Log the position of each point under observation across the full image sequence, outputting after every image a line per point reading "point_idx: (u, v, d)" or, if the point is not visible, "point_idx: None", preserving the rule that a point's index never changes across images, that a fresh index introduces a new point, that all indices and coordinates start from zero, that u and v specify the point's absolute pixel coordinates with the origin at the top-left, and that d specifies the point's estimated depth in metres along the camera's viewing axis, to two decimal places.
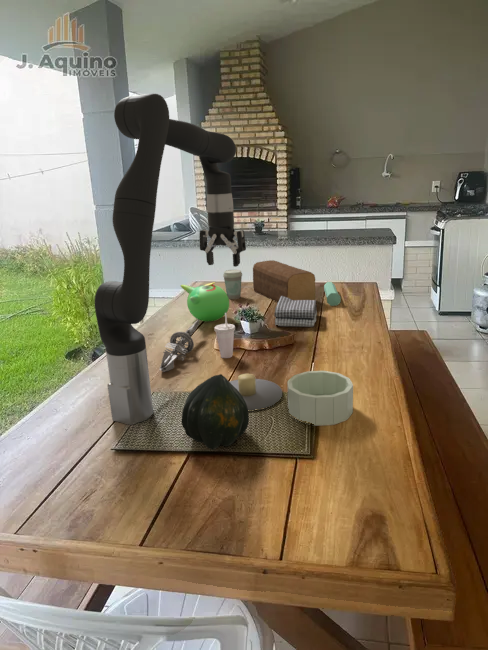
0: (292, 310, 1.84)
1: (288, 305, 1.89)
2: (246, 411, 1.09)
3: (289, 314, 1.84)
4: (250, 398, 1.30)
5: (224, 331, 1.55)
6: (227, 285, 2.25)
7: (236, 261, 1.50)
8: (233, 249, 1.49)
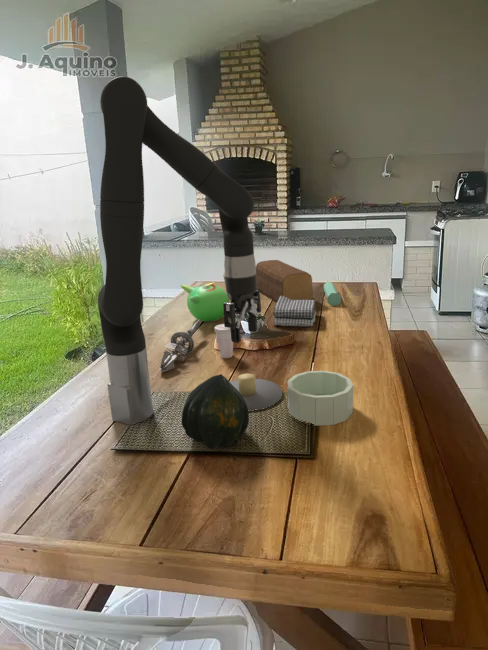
0: (291, 310, 1.84)
1: (287, 305, 1.90)
2: (246, 411, 1.09)
3: (288, 314, 1.84)
4: (250, 398, 1.30)
5: (224, 331, 1.55)
6: None
7: None
8: (256, 312, 1.30)
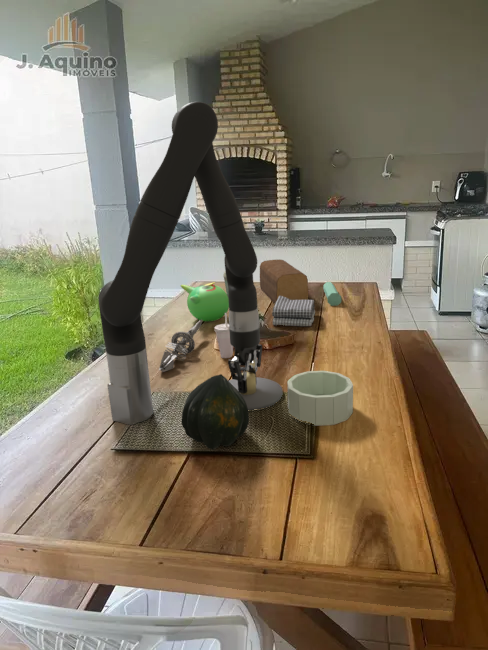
0: (290, 310, 1.84)
1: (286, 305, 1.90)
2: (246, 411, 1.09)
3: (287, 314, 1.84)
4: (250, 396, 1.30)
5: (224, 331, 1.55)
6: (227, 285, 2.25)
7: None
8: (256, 366, 1.33)
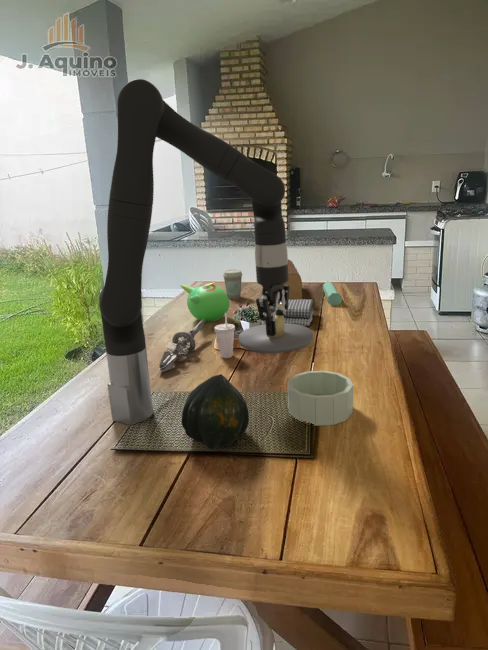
0: (288, 309, 1.85)
1: None
2: (246, 411, 1.09)
3: (285, 313, 1.85)
4: (279, 339, 1.22)
5: (224, 331, 1.55)
6: (227, 285, 2.25)
7: None
8: (283, 308, 1.25)
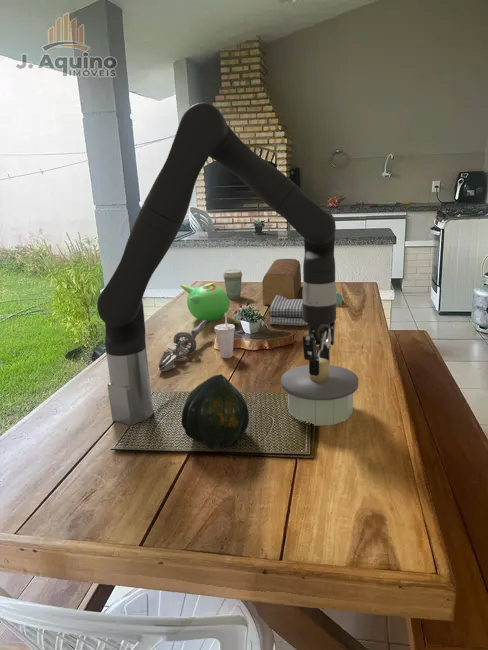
0: (286, 309, 1.85)
1: (283, 304, 1.91)
2: (246, 411, 1.09)
3: (283, 313, 1.85)
4: (324, 384, 1.18)
5: (224, 331, 1.55)
6: (227, 285, 2.25)
7: None
8: (329, 345, 1.21)
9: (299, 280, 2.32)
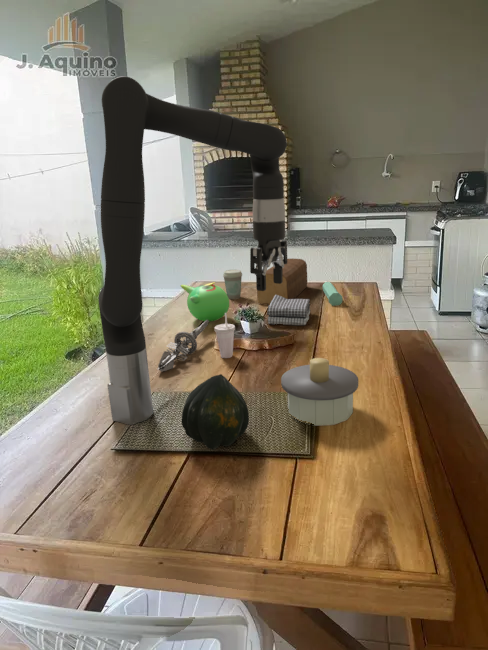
0: (284, 309, 1.86)
1: (281, 304, 1.92)
2: (246, 411, 1.09)
3: (281, 313, 1.86)
4: (324, 384, 1.18)
5: (224, 331, 1.55)
6: (227, 285, 2.25)
7: None
8: (282, 263, 1.26)
9: (301, 280, 2.31)
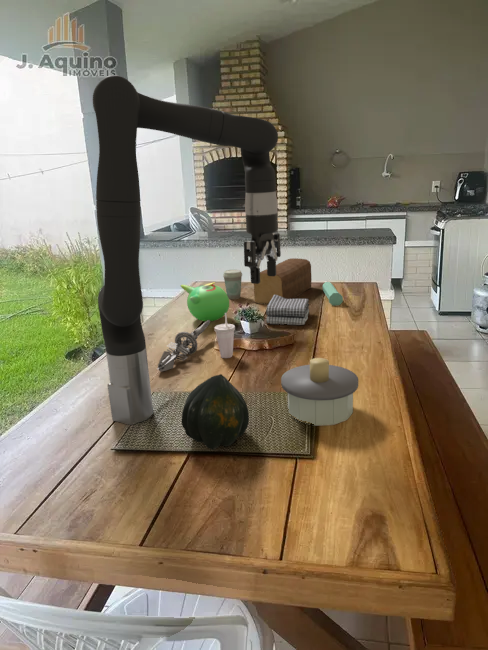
0: (283, 308, 1.86)
1: (280, 303, 1.92)
2: (246, 411, 1.09)
3: (280, 312, 1.86)
4: (324, 384, 1.18)
5: (224, 331, 1.55)
6: (227, 285, 2.25)
7: None
8: (275, 255, 1.27)
9: (303, 281, 2.30)
